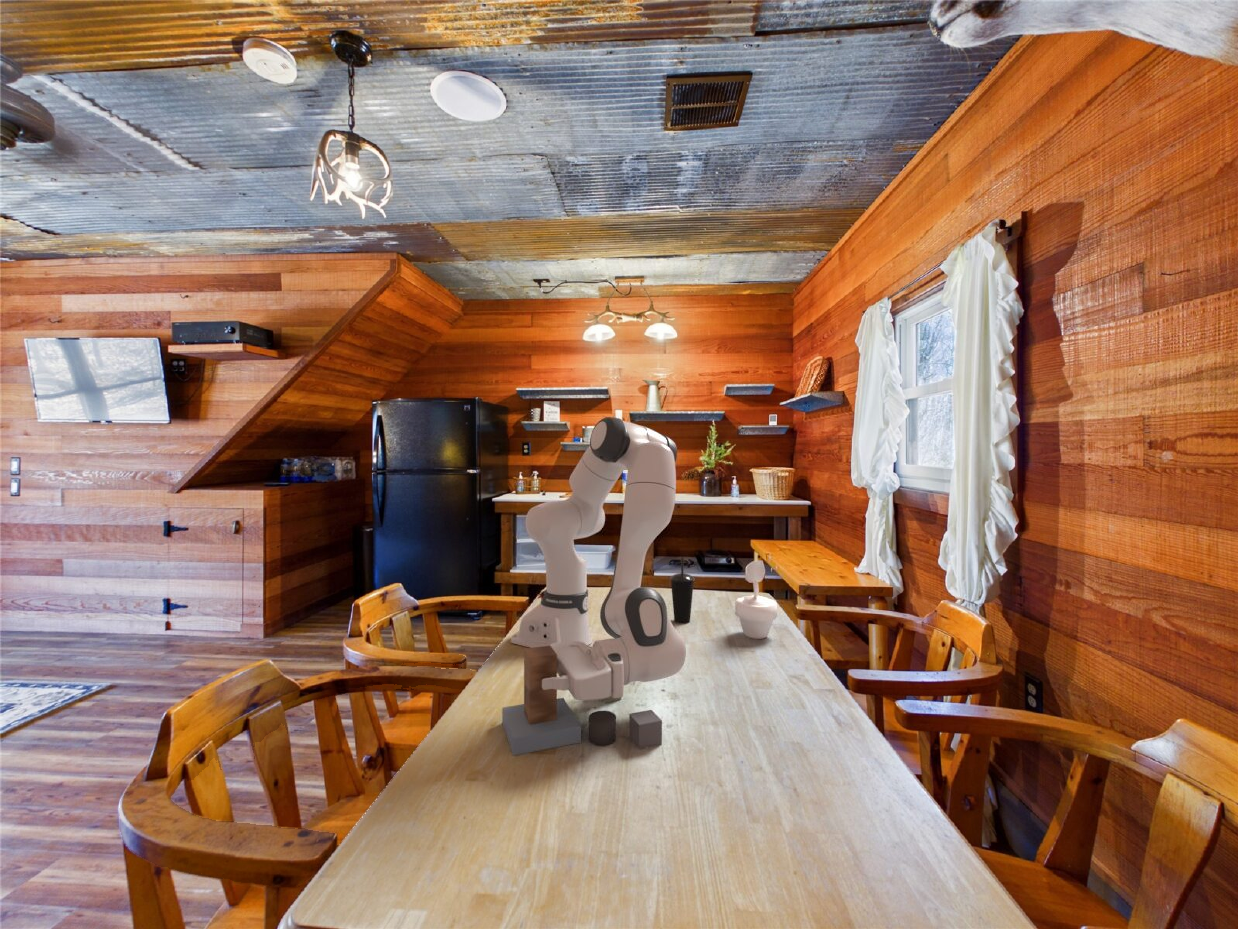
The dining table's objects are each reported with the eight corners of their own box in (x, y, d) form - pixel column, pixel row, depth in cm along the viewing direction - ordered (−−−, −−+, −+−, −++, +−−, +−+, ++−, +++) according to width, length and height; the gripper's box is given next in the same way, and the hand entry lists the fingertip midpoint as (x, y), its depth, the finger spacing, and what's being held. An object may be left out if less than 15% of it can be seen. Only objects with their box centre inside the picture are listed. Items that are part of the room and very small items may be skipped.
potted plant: (778, 644, 148) (779, 552, 148) (735, 641, 150) (735, 551, 150) (775, 629, 160) (775, 545, 160) (734, 627, 163) (735, 544, 162)
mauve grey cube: (639, 750, 94) (639, 725, 94) (629, 737, 98) (629, 713, 98) (661, 745, 96) (661, 720, 96) (651, 733, 100) (651, 709, 100)
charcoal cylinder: (583, 743, 96) (584, 721, 96) (595, 730, 101) (595, 708, 101) (610, 748, 95) (610, 726, 95) (620, 735, 99) (620, 713, 99)
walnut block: (529, 724, 97) (529, 658, 97) (524, 712, 101) (524, 648, 101) (556, 720, 99) (556, 654, 98) (550, 708, 103) (550, 645, 103)
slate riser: (513, 755, 92) (513, 738, 92) (502, 723, 103) (502, 707, 103) (580, 742, 97) (580, 725, 97) (563, 712, 108) (563, 697, 108)
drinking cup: (665, 622, 167) (666, 558, 166) (675, 616, 173) (675, 554, 173) (689, 626, 163) (689, 560, 163) (697, 619, 170) (698, 556, 170)
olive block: (603, 703, 112) (603, 679, 112) (597, 695, 116) (597, 671, 116) (621, 699, 114) (621, 676, 114) (614, 692, 118) (614, 669, 117)
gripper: (589, 630, 114) (524, 638, 109) (625, 666, 95) (548, 677, 90) (589, 660, 114) (524, 669, 109) (625, 701, 95) (548, 715, 90)
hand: (535, 673), depth 100 cm, fingers open, 8 cm apart
